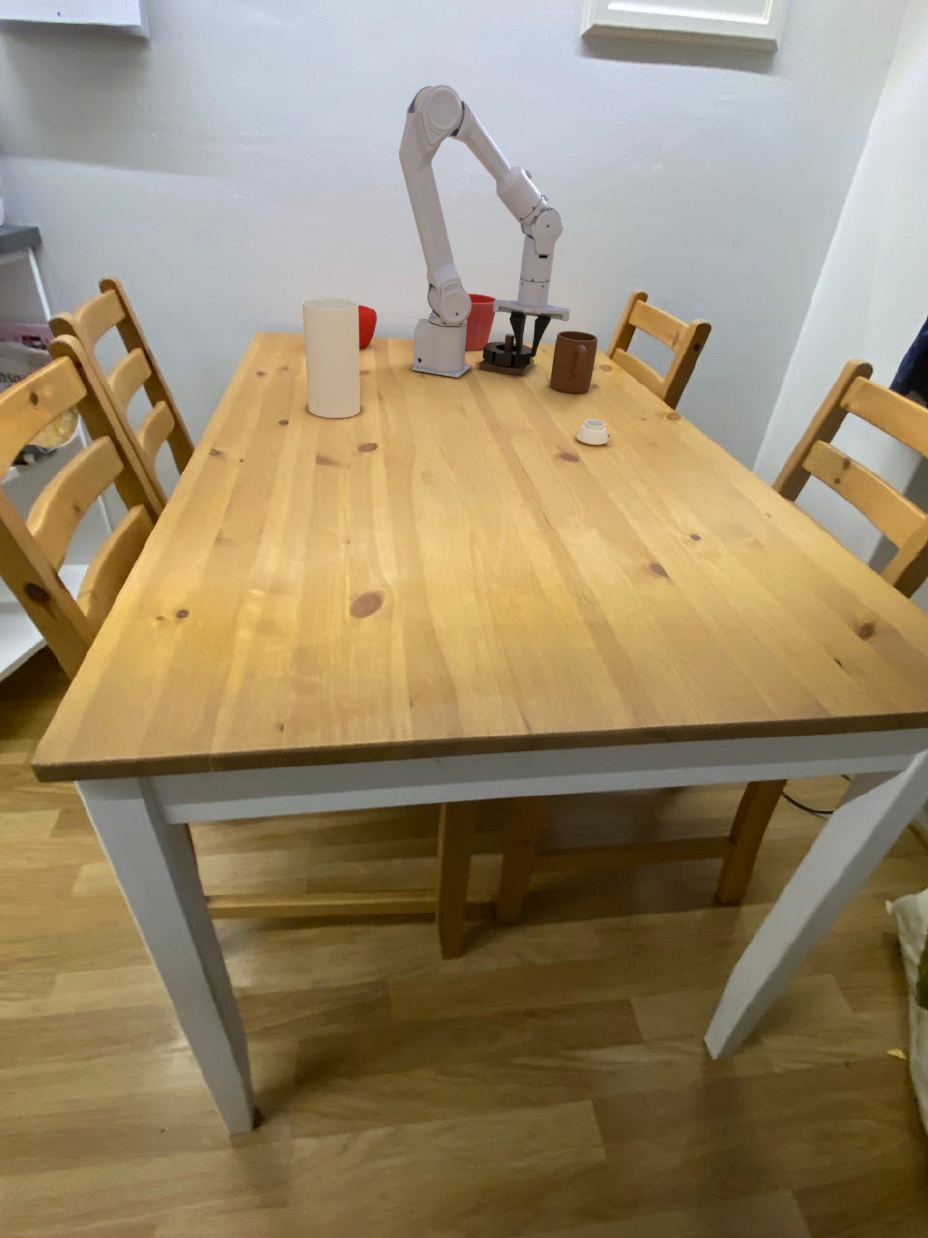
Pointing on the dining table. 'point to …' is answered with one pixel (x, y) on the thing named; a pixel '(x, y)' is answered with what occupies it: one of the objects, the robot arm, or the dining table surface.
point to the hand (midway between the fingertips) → (526, 354)
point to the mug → (573, 361)
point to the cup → (332, 356)
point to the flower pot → (479, 321)
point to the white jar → (593, 432)
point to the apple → (366, 325)
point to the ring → (507, 355)
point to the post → (506, 369)
